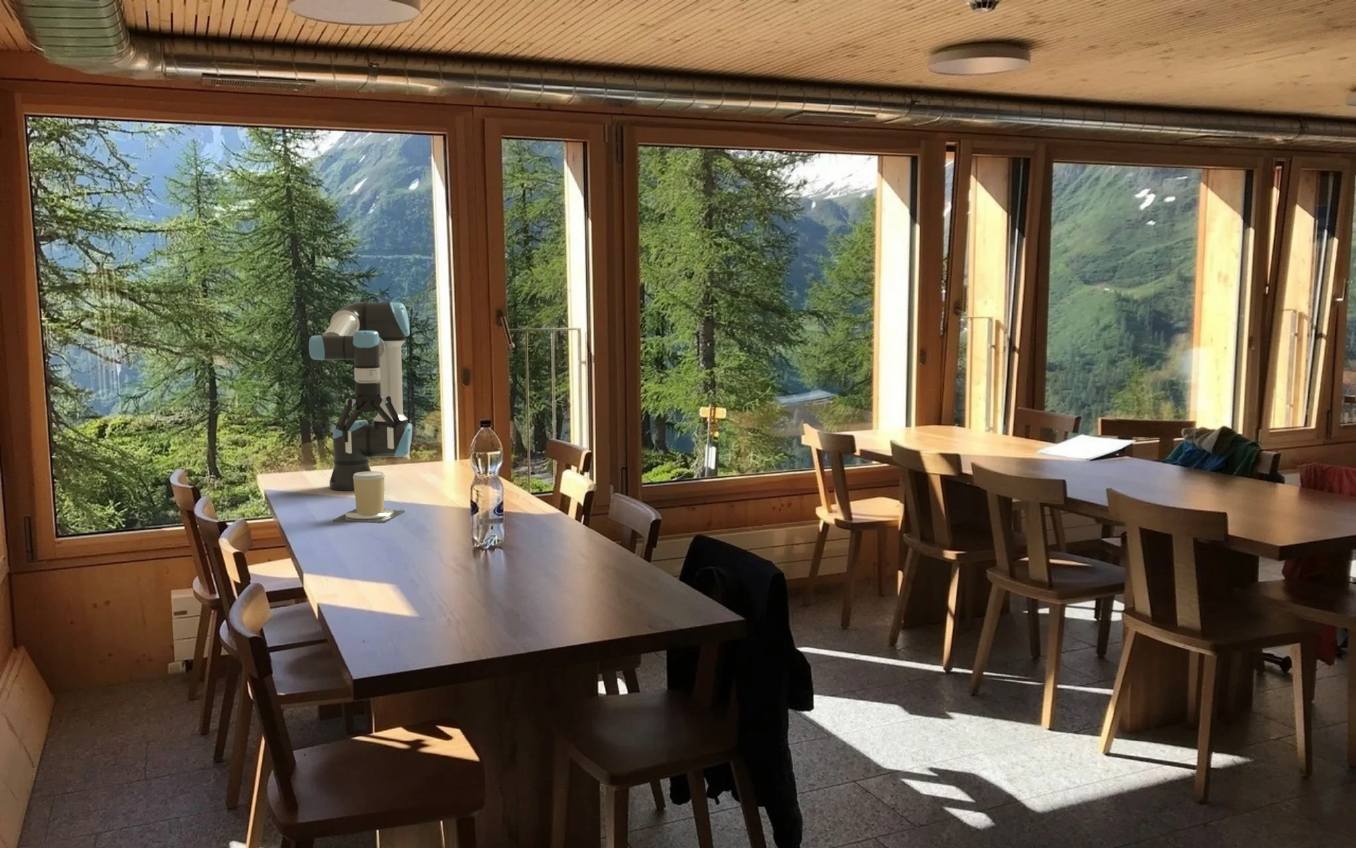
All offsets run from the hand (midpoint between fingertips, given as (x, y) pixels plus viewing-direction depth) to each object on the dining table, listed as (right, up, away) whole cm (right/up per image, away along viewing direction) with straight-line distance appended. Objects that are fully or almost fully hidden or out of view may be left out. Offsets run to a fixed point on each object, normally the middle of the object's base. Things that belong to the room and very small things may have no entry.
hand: (370, 450), depth 322 cm
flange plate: (+1, -20, -3) cm, 20 cm away
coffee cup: (+1, -19, -3) cm, 19 cm away
